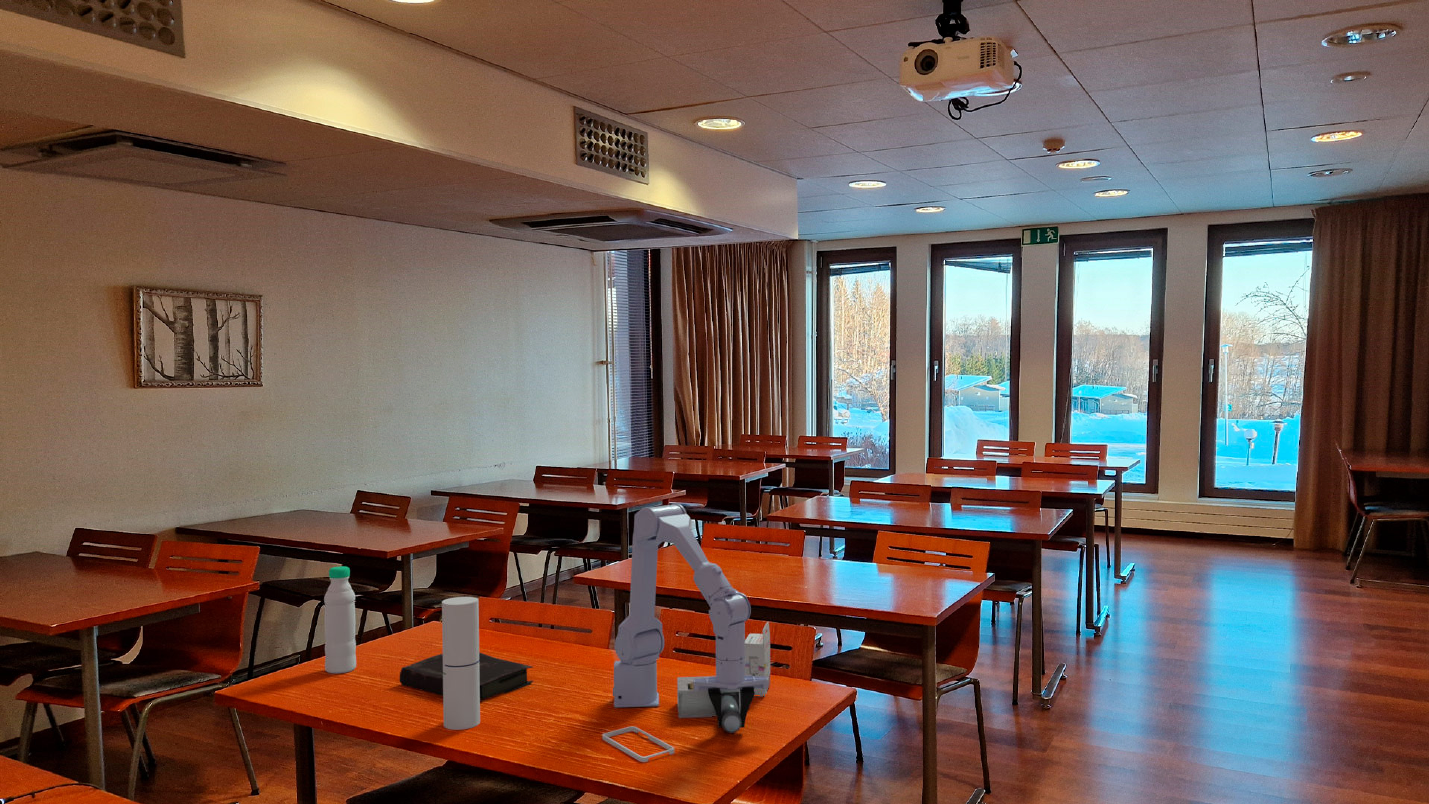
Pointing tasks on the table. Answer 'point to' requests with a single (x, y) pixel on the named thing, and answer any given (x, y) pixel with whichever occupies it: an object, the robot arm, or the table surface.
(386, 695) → the table surface
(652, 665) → the robot arm
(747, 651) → the ink cartridge box
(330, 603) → the water bottle
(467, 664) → the cylindrical container
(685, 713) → the housing
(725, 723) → the cartridge
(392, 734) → the table surface
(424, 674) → the diary
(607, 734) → the phone case
